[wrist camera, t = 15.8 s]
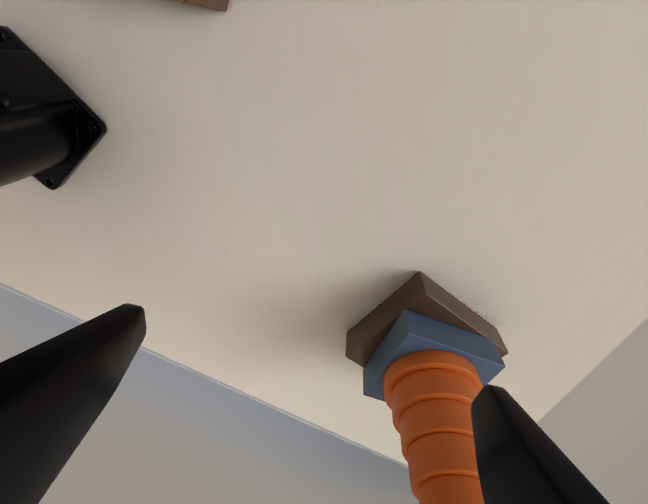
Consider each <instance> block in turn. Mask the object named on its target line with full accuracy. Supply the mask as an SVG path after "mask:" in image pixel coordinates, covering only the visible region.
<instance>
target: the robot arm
mask: <svg viewBox="0 0 648 504" xmlns="http://www.w3.org/2000/svg"><path fill="white" fill-rule="evenodd" d="M2 34H3V36H4V38H5V40H4V39H3V37H2ZM94 124H95V125H96V126H97V128H98V130H96V129H95V127H94ZM106 131H107V128H106V125H105V123H104V122H103V121H102V120H101V119H100V118H99V117H98V116H97V115H96V114H95V113H94V112H93V111H92V110H91V109H90V108H89V107H88V106H87V105H86V104H85V103H84V102H83V101H82V100H81V99H80V98H79V97H78V96H77V95H76V94H75V93H74V91H73V90H72V89H71V88H70V87H69V86H68V85H67V84H66V83H65V82H64V81H63V80H62V79H61V78H60V77H59V76H58V75H56V74H55V73H54V72H53V71H52V70H51V69H50V68H49V67H48V66H47V65H46V64H45V63H44V62H43V61H42V60H41V59H40V58H39V57H38V56H37V55H36V54H35V53H34V52H32V51H31V50H30V49H29V48H28V47H27V46H26V45H25V44H24V43H23V42H22V41H21V40H20V39H19V38H18V37H17V36H16V35H15V34H14V33H13V32H12V31H11V30H10V29H9V28H7V27H5V26H0V187H2V186H4V185H7V184H10V183H13V182H16V181H18V180H21V179H24V178H27V177H30V176H32V175H33V176H34V177H35V178H36V179H37V180H39V181H40V182H41V183H42V184H43V185H45V186H46V187H47V188H49V189H51V190H55V189H57V188H60V187H61V186H62V185H63V184H64V183H65V182H66V180H67V179H68V178H69V177H70V176H71V174H72V173H73V172H74V171H75V170H76V168H77V167H78V166H79V165H80V164H81V162H82V161H83V160H84V159H85V158H86V156H87V155H88V154H89V153H90V152H91V150H92V149H93V148H94V147H95V146H96V144H97V143H98V142H99V141H100V140H101V138H102V137H103V136H104V135H105V134H106ZM51 180H52V181H53V182H52V181H51ZM145 335H146V320H145V312H144V309H143V307H141V306H138V305H133V304H123V305H121V306H119V307H116V308H114V309H112V310H110V311H108V312H106V313H104V314H102V315H100V316H98V317H95V318H93V319H91V320H89V321H87V322H85V323H83V324H81V325H79V326H77V327H75V328H72V329H70V330H68V331H66V332H64V333H62V334H60V335H58V336H56V337H53V338H51V339H49V340H47V341H45V342H43V343H41V344H39V345H37V346H35V347H33V348H30V349H28V350H26V351H24V352H22V353H20V354H18V355H16V356H14V357H11V358H9V359H7V360H5V361H3V362H1V363H0V504H38V503H39V502H40V500H41V499H42V497H43V496H44V494H45V493H46V491H47V490H48V489H49V487H50V485H51V484H52V483H53V481H54V480H55V478H56V477H57V475H58V474H59V473H60V471H61V470H62V468H63V467H64V465H65V464H66V462H67V461H68V459H69V458H70V457H71V455H72V454H73V452H74V451H75V449H76V448H77V447H78V445H79V444H80V442H81V441H82V439H83V438H84V436H85V435H86V433H87V432H88V431H89V429H90V427H91V426H92V425H93V423H94V422H95V420H96V419H97V417H98V416H99V415H100V413H101V411H102V410H103V409H104V407H105V406H106V404H107V403H108V401H109V400H110V398H111V397H112V395H113V394H114V392H115V390H116V388H117V387H118V385H119V383H120V381H121V380H122V378H123V376H124V374H125V372H126V370H127V369H128V367H129V365H130V363H131V361H132V359H133V358H134V356H135V354H136V352H137V350H138V349H139V347H140V345H141V343H142V341H143V339H144V337H145ZM471 420H472V429H473V437H474V446H475V454H476V463H477V470H478V476H479V481H480V486H481V491H482V495H483V500H484V504H610V503H609V502H608V501H607V500H606V499H605V498H604V497H603V496H602V495H601V493H600V492H598V490H597V489H596V488H595V487H594V486H593V485H592V484H591V483H590V482H589V480H588V479H587V478H586V477H585V476H584V475H583V474H582V473H581V472H580V471H579V470H578V469H577V467H576V466H575V465H574V464H573V463H572V462H571V461H570V460H569V459H568V457H567V456H566V455H565V454H564V453H563V452H562V451H561V450H560V449H559V448H558V447H557V445H556V444H554V442H553V441H552V440H551V439H550V438H549V437H548V436H547V435H546V434H545V433H544V431H543V430H542V429H541V428H540V427H539V426H538V425H537V424H536V423H535V421H534V420H533V419H532V418H531V417H530V416H529V415H528V414H527V413H526V412H525V411H524V410H523V408H522V407H521V406H520V405H519V404H518V403H517V402H516V401H515V400H514V399H513V398H512V396H511V395H510V394H509V393H508V392H507V391H506V390H505V389H504V388H502V387H498V386H494V385H489V384H487V385H485V386H484V387H483V388H482V389H481V391H480V392H479V393H478V395H477V396H476V397H475V398H474V400H473V401H472V404H471Z"/></svg>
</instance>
